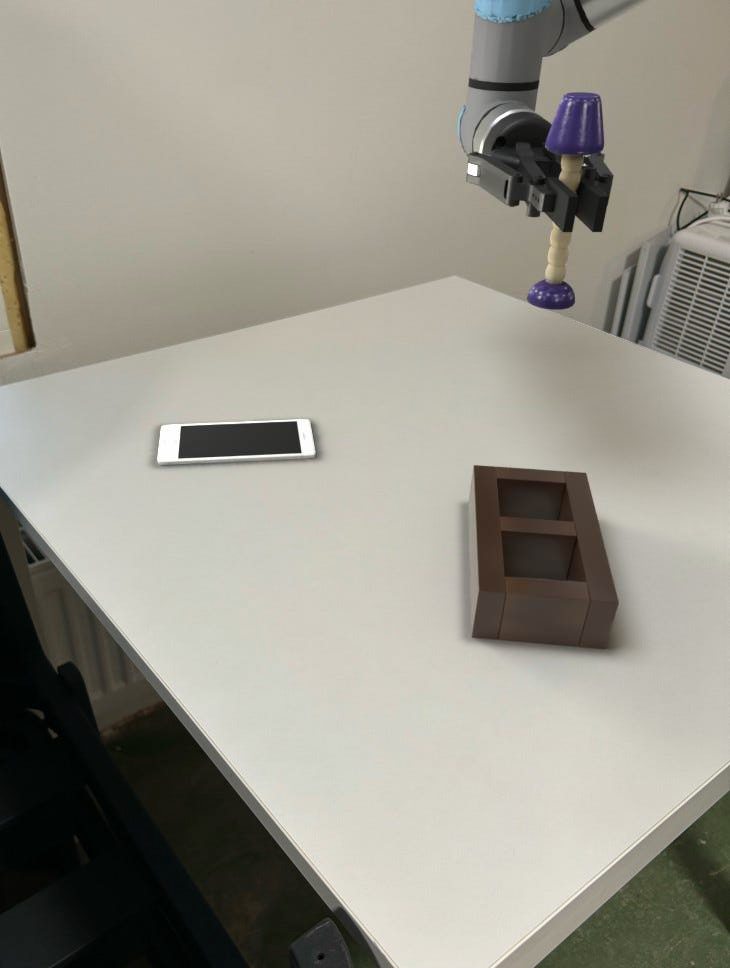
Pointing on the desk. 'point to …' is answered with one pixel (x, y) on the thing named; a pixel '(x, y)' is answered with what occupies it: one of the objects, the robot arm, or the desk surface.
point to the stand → (538, 559)
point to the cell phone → (235, 442)
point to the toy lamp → (574, 138)
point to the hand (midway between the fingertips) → (585, 214)
